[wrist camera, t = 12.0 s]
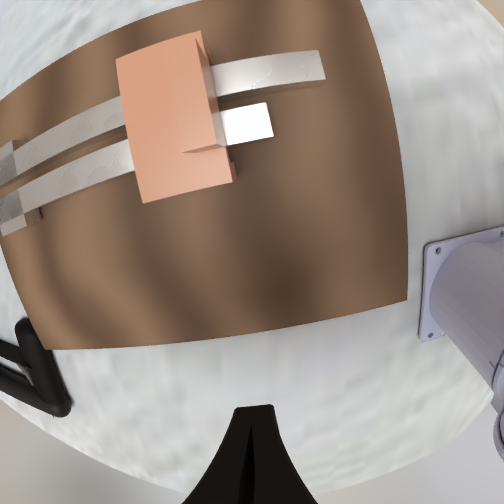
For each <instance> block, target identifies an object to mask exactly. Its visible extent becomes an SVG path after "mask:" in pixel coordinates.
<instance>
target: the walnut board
mask: <svg viewBox="0 0 504 504" xmlns="http://www.w3.org/2000/svg"><path fill="white" fill-rule="evenodd" d="M200 30H201V33H202V35H203V37H204V39H205V41H206V43H207V45H208V48H209V50H210V53H211V58H212V62H213V64H209V65H210V66H215V65H219V64H223V63H228V62H233V61H238V60H243V59H248V58H254V57H260V56H267V55H274V54H281V53H289V52H299V51H310V50H318V52H319V55H320V59H321V63H322V66H323V70H324V74H325V78H326V80H325V81H324V82H323V83H322V84H321V85H320V86H319V87H312V88H303V89H295V90H287V91H280V92H274V93H268V94H262V95H256V96H251V97H246V98H241V99H236V100H231V101H226V102H222V103H218V107H219V112H221V111H226V110H230V109H235V108H240V107H245V106H250V105H255V104H261V103H266V105H267V110H268V114H269V119H270V123H271V128H272V133H273V137H272V138H271V139H265V140H260V141H255V142H250V143H245V144H240V145H235V146H231V147H227V150H228V154H229V159H230V163H231V162H234V165H235V170H236V174H237V178H236V179H235V180H234V181H233V182H230V183H226V184H221V185H217V186H212V187H208V188H203V189H199V190H195V191H191V192H186V193H182V194H178V195H174V196H170V197H166V198H163V199H159V200H155V201H151V202H147V203H144V204H143V202H142V198H141V194H140V190H139V186H138V182H137V178H136V173H135V172H133V173H130V174H127V175H124V176H121V177H118V178H115V179H112V180H109V181H107V182H104V183H101V184H98V185H95V186H93V187H90V188H87V189H85V190H82V191H79V192H77V193H74V194H72V195H69V196H67V197H64V198H62V199H59V200H57V201H54V202H52V203H50V204H47V205H45V206H43V207H40V208H39V211H40V215H41V218H42V220H40V221H38V222H35V223H33V224H30V225H28V226H26V227H23V228H21V229H19V230H16V231H14V232H12V233H10V234H7V235H5V236H2V233H1V229H0V245H1V248H2V251H3V254H4V257H5V260H6V263H7V266H8V269H9V272H10V275H11V277H12V280H13V282H14V285H15V287H16V290H17V292H18V295H19V297H20V300H21V302H22V304H23V306H24V309H25V311H26V313H27V315H28V317H29V319H30V322H31V324H32V326H33V328H34V330H35V332H36V334H37V336H38V337H39V339H40V341H41V343H42V345H43V347H44V349H45V350H69V349H102V348H121V347H136V346H149V345H161V344H172V343H181V342H191V341H199V340H207V339H215V338H223V337H230V336H237V335H244V334H250V333H257V332H263V331H269V330H275V329H280V328H286V327H291V326H297V325H302V324H307V323H312V322H317V321H322V320H327V319H332V318H336V317H341V316H345V315H350V314H354V313H358V312H362V311H367V310H371V309H375V308H379V307H383V306H387V305H391V304H394V303H398V302H402V301H405V300H407V290H408V233H407V213H406V199H405V188H404V178H403V170H402V162H401V154H400V148H399V141H398V135H397V129H396V124H395V118H394V113H393V109H392V104H391V99H390V95H389V91H388V86H387V82H386V78H385V74H384V71H383V67H382V63H381V60H380V57H379V53H378V50H377V47H376V43H375V40H374V37H373V34H372V31H371V28H370V25H369V23H368V20H367V17H366V14H365V12H364V9H363V7H362V4H361V2H360V0H201V1H197V2H193V3H190V4H186V5H183V6H179V7H176V8H172V9H169V10H166V11H163V12H160V13H157V14H154V15H151V16H149V17H146V18H143V19H140V20H138V21H135V22H133V23H130V24H128V25H125V26H123V27H121V28H118V29H116V30H114V31H112V32H110V33H107V34H105V35H103V36H101V37H99V38H97V39H95V40H93V41H91V42H89V43H87V44H85V45H83V46H81V47H80V48H78V49H76V50H74V51H72V52H71V53H69V54H67V55H65V56H64V57H62V58H60V59H59V60H57V61H55V62H54V63H52V64H51V65H49V66H47V67H46V68H44V69H43V70H41V71H40V72H38V73H37V74H35V75H34V76H32V77H31V78H30V79H28V80H27V81H25V82H24V83H23V84H21V85H20V86H19V87H17V88H16V89H15V90H13V91H12V92H11V93H10V94H8V95H7V96H6V97H5V98H3V99H2V100H1V101H0V148H2V147H3V146H4V145H6V144H7V143H8V142H10V141H11V140H23V139H27V140H28V142H29V141H31V140H33V139H34V138H36V137H37V136H39V135H41V134H43V133H44V132H46V131H48V130H50V129H51V128H53V127H55V126H57V125H59V124H60V123H62V122H64V121H66V120H68V119H70V118H72V117H74V116H76V115H78V114H80V113H82V112H84V111H86V110H88V109H90V108H92V107H95V106H97V105H99V104H101V103H104V102H106V101H108V100H111V99H113V98H115V97H118V96H120V90H119V83H118V75H117V68H116V60H115V59H118V58H120V57H122V56H125V55H127V54H130V53H132V52H135V51H137V50H140V49H142V48H145V47H148V46H151V45H154V44H156V43H159V42H162V41H165V40H169V39H172V38H175V37H178V36H182V35H185V34H189V33H192V32H196V31H200ZM126 139H128V136H127V131H124V132H122V133H119V134H116V135H114V136H111V137H109V138H106V139H104V140H101V141H99V142H96V143H94V144H92V145H89V146H87V147H85V148H82V149H80V150H78V151H76V152H73V153H71V154H69V155H67V156H65V157H63V158H61V159H59V160H57V161H55V162H53V163H51V164H49V165H47V166H45V167H43V168H41V169H39V170H37V171H35V172H33V173H32V174H30V175H28V176H26V177H24V178H23V179H21V180H19V181H17V182H16V183H14V184H12V185H11V186H9V187H6V188H2V189H0V199H1V198H3V197H4V196H6V195H8V194H9V193H11V192H13V191H15V190H16V189H18V188H20V187H22V186H24V185H25V184H27V183H29V182H31V181H33V180H35V179H37V178H39V177H41V176H43V175H45V174H47V173H49V172H51V171H53V170H55V169H57V168H59V167H61V166H63V165H65V164H67V163H70V162H72V161H74V160H76V159H79V158H81V157H83V156H85V155H88V154H90V153H93V152H95V151H97V150H100V149H102V148H105V147H108V146H110V145H113V144H115V143H118V142H121V141H123V140H126Z"/></svg>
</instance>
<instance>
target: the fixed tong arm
mask: <svg viewBox="0 0 504 504" xmlns="http://www.w3.org/2000/svg"><path fill="white" fill-rule="evenodd" d="M210 70H211V74H212V79H213V84H214V89H215V93H216V98H217V103H222V102H226V101H231V100H236V99H241V98H246V97H251V96H256V95H262V94H268V93H274V92H280V91H287V90H295V89H303V88H312V87H319V86H320V85H321V84H322V83H323V82H324V81H325V80H326V78H325V74H324V70H323V66H322V63H321V59H320V55H319V52H318V50H310V51H299V52H289V53H281V54H274V55H267V56H260V57H254V58H248V59H243V60H238V61H233V62H228V63H223V64H219V65H215V66H210ZM124 131H126V125H125V120H124V114H123V108H122V102H121V96H118V97H115V98H113V99H111V100H108V101H106V102H104V103H101V104H99V105H97V106H95V107H92V108H90V109H88V110H86V111H84V112H82V113H80V114H78V115H76V116H74V117H72V118H70V119H68V120H66V121H64V122H62V123H60V124H59V125H57V126H55V127H53V128H51V129H50V130H48V131H46V132H44V133H43V134H41V135H39V136H37V137H36V138H34V139H33V140H31V141H29V142H28V140H27V139H23V140H11V141H10V142H8V143H7V144H6V145H4V146H3V147H2V148H0V189H2V188H6V187H9V186H11V185H12V184H14V183H16V182H17V181H19V180H21V179H23V178H24V177H26V176H28V175H30V174H32V173H33V172H35V171H37V170H39V169H41V168H43V167H45V166H47V165H49V164H51V163H53V162H55V161H57V160H59V159H61V158H63V157H65V156H67V155H69V154H71V153H73V152H76V151H78V150H80V149H82V148H85V147H87V146H89V145H92V144H94V143H96V142H99V141H101V140H104V139H106V138H109V137H111V136H114V135H116V134H119V133H122V132H124Z"/></svg>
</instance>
